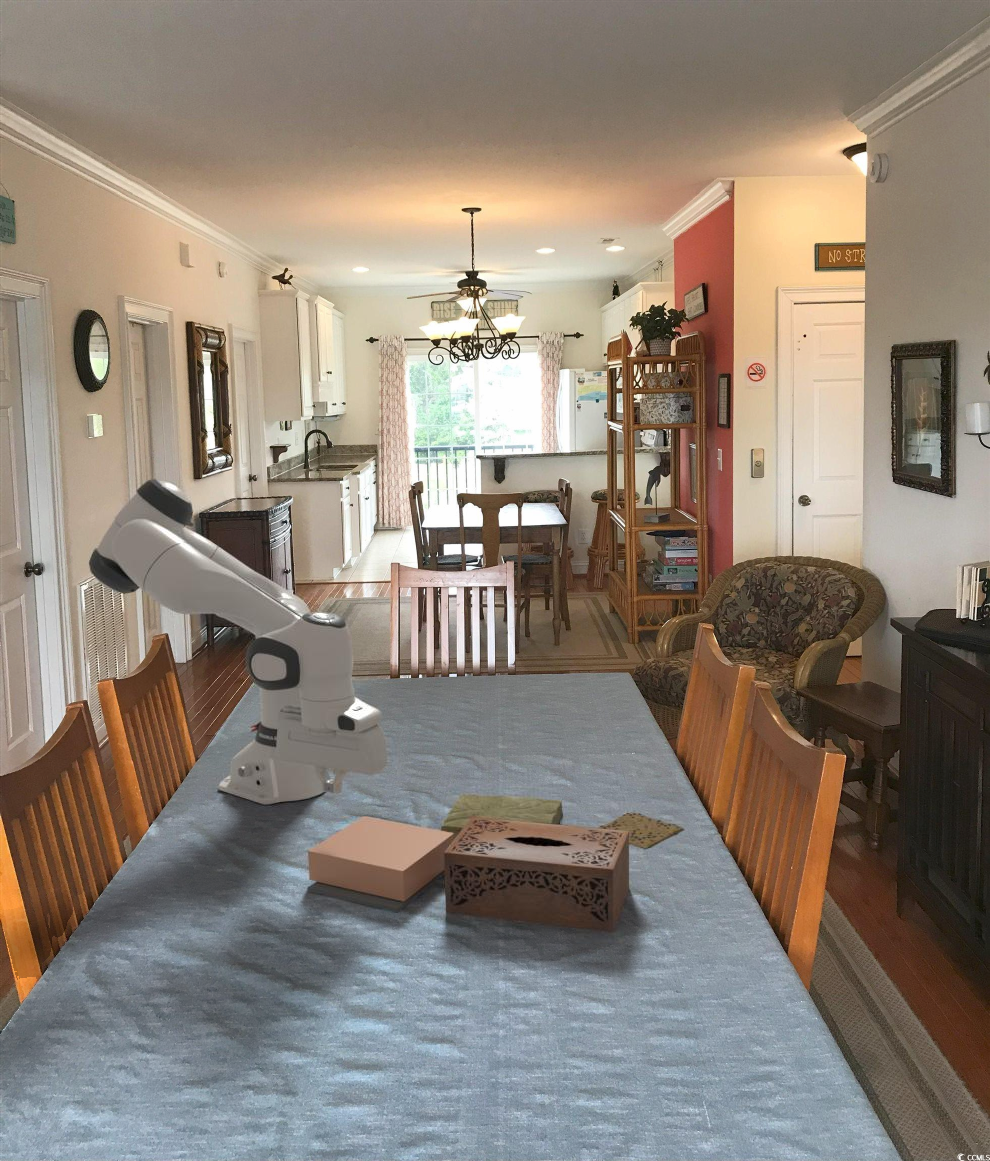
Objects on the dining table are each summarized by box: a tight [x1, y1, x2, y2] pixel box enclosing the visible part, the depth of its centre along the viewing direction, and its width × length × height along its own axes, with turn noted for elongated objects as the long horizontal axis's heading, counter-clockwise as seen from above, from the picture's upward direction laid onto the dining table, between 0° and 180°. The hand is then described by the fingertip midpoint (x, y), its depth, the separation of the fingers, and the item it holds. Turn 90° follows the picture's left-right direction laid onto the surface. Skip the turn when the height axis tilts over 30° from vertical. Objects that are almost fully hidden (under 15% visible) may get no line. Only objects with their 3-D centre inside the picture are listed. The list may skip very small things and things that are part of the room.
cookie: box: [598, 811, 685, 850], centre depth 195 cm, size 12×12×1 cm
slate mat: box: [307, 870, 445, 913], centre depth 179 cm, size 17×20×1 cm
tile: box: [307, 815, 454, 901], centre depth 178 cm, size 5×16×18 cm
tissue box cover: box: [444, 817, 630, 933], centre depth 168 cm, size 26×14×10 cm, turn 74°
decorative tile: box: [440, 793, 564, 839], centre depth 198 cm, size 19×20×4 cm
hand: (332, 791), depth 181 cm, fingers closed
